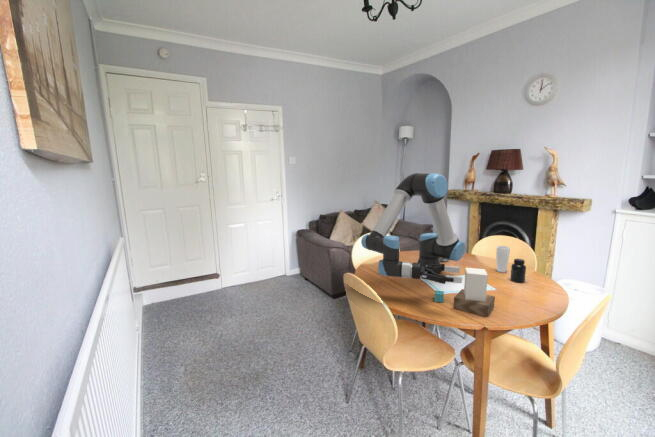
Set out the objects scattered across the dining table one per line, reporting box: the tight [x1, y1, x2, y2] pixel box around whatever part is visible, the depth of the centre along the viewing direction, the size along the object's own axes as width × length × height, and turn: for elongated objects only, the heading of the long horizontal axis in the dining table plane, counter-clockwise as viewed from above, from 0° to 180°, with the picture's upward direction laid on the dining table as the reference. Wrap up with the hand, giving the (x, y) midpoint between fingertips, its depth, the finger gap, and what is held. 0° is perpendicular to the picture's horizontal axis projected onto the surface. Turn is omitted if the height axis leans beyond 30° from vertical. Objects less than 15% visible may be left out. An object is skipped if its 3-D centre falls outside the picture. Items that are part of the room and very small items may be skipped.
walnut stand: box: [453, 288, 496, 318], centre depth 138 cm, size 14×12×5 cm
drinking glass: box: [495, 245, 511, 273], centre depth 183 cm, size 7×7×15 cm
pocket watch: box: [439, 257, 450, 263], centre depth 205 cm, size 8×8×10 cm
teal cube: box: [434, 289, 445, 303], centre depth 146 cm, size 4×4×4 cm
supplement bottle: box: [510, 258, 527, 283], centre depth 168 cm, size 7×7×12 cm
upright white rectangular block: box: [463, 267, 489, 302], centre depth 136 cm, size 8×8×12 cm
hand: (460, 274), depth 138 cm, fingers open, 13 cm apart
